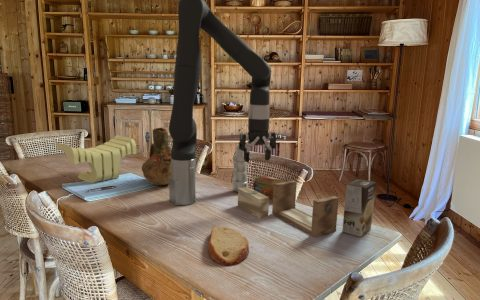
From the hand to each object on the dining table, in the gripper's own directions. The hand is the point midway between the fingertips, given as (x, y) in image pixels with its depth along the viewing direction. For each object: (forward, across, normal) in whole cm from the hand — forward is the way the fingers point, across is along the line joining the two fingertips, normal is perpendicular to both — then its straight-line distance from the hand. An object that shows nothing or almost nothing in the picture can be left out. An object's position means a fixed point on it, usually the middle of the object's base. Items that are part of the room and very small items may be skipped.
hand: (257, 160), depth 134 cm
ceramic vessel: (+18, -25, +41) cm, 51 cm away
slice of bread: (+18, -25, -26) cm, 40 cm away
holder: (+18, +7, -20) cm, 27 cm away
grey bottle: (+18, +3, +18) cm, 26 cm away
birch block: (+18, -3, -4) cm, 18 cm away
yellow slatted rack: (+18, -49, +61) cm, 80 cm away
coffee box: (+18, +20, -32) cm, 42 cm away
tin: (+18, +11, +7) cm, 22 cm away
